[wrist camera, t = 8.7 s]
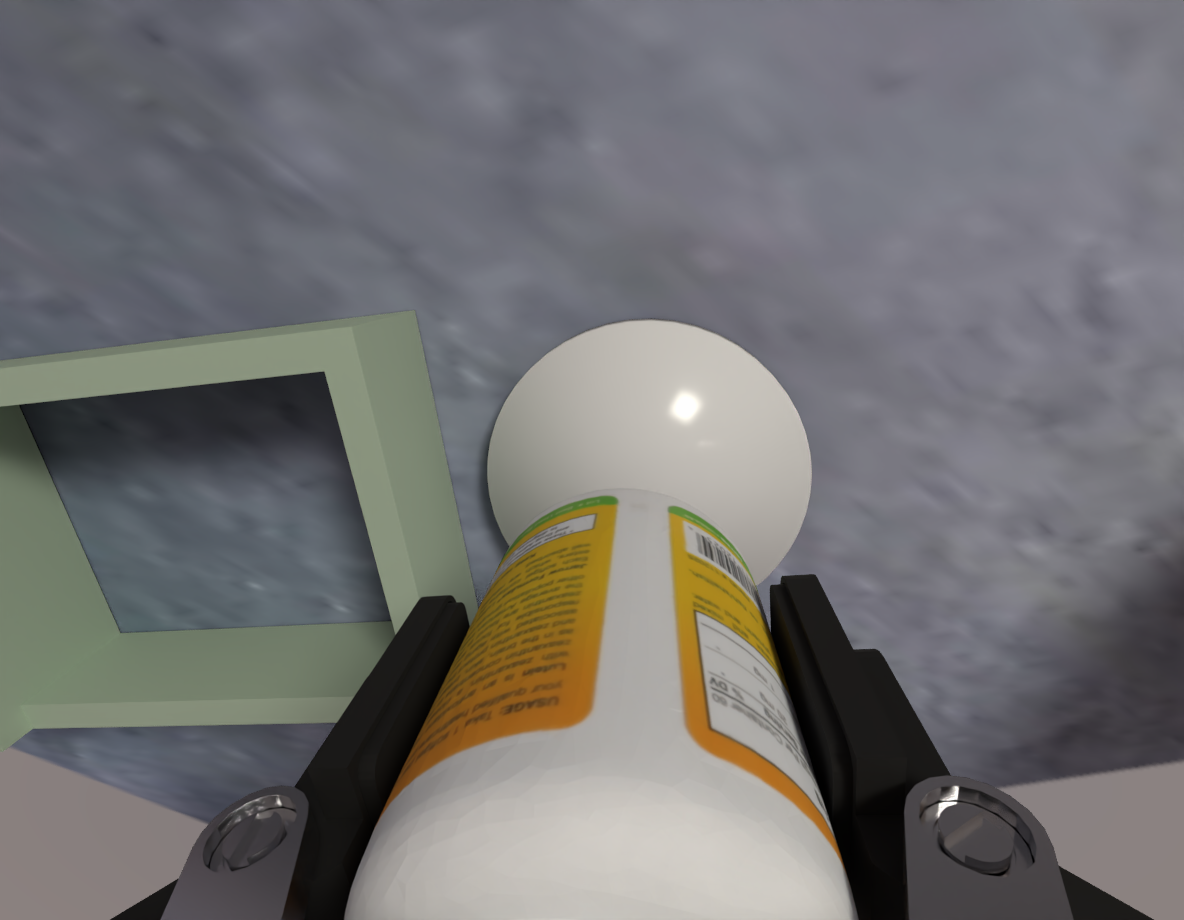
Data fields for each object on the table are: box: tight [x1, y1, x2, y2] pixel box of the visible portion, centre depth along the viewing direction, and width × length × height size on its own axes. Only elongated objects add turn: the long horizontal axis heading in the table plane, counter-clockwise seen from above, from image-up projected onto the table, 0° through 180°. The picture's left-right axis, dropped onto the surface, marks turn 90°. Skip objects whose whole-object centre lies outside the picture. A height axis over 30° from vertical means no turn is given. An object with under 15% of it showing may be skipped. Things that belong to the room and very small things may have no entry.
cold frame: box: [0, 310, 478, 752], centre depth 19 cm, size 16×12×5 cm
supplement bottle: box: [344, 489, 859, 920], centre depth 8 cm, size 5×5×10 cm
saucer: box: [487, 318, 812, 586], centre depth 19 cm, size 10×10×1 cm
